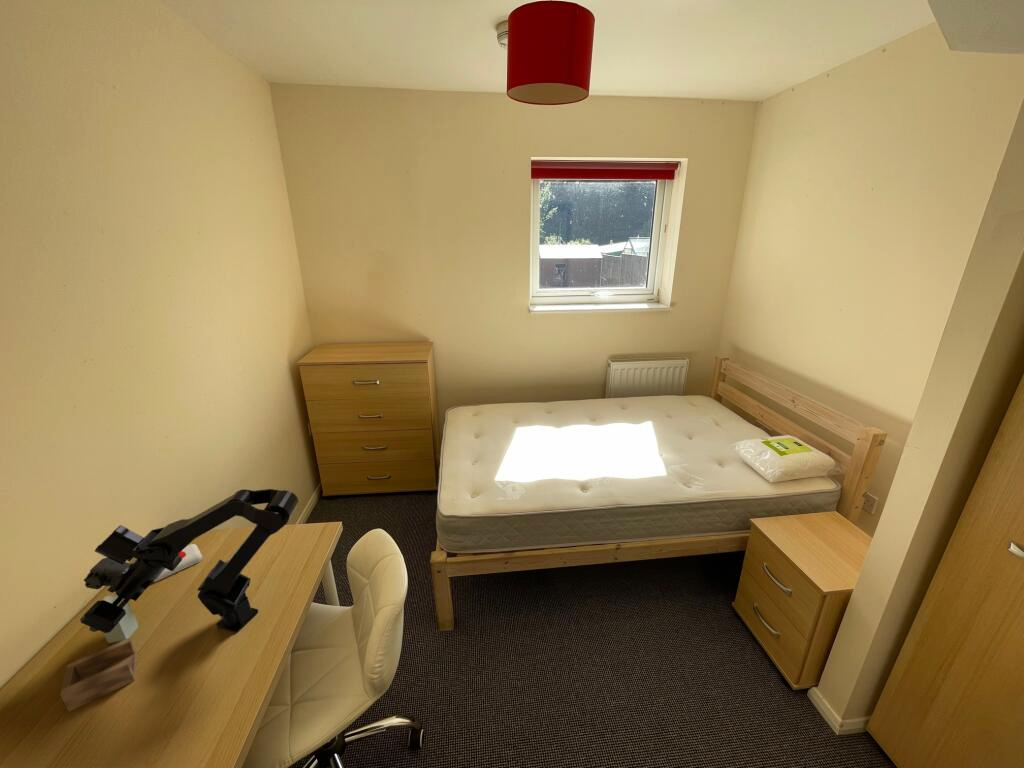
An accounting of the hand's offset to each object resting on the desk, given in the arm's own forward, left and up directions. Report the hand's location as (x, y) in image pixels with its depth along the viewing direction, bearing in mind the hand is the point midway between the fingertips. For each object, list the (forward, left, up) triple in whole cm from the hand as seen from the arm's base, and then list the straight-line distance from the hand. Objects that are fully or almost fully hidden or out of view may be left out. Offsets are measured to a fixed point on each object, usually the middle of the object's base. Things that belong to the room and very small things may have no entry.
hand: (107, 613), depth 98 cm
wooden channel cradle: (-10, +8, -7) cm, 15 cm away
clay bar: (-1, -1, -7) cm, 7 cm away
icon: (+11, -21, -7) cm, 25 cm away
